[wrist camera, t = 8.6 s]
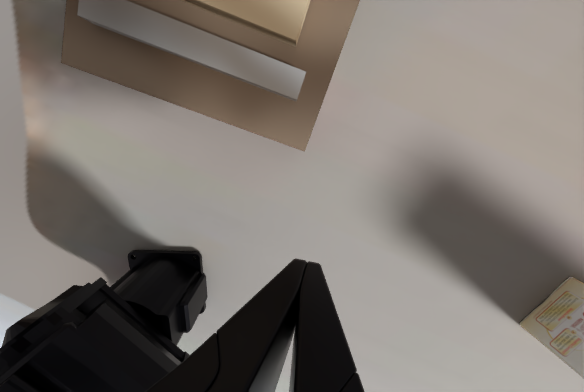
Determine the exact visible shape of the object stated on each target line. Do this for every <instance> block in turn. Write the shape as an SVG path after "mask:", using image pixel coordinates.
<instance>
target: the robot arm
mask: <svg viewBox="0 0 584 392" xmlns="http://www.w3.org/2000/svg"><path fill="white" fill-rule="evenodd" d="M134 255H135V256H136V257H134ZM193 256H196V257H197V259H195V258H194V257H193ZM128 261H129V267H130V271H128V272H127V273H126V274H125V275H124V276H123V277H121V278H120V279H119V280H118V281H117V282H116V283H114V284H113V285H112V286H111V287H109V286H108V285H107V284H106V283H107V282H106V281H105V280H103V279H102V278H99V279H98V280H97V281H95V282H94V283H93V284H90V283H87V284H86V285H84V286H77V285H73V286H72V287H71V288H69V289H68V290H66V291H65V292H64V293H62V294H61V295H60V296H58V297H57V298H55V299H54V300H52V301H51V302H49V303H47V304H46V305H44V306H43V307H41V308H39V309H37V310H36V311H34V312H32V313H31V314H29V315H27V316H26V317H24V318H22V319H21V320H19V321H18V322H16V323H15V324H13V325H12V326H11V327H9V328H8V329H7V330H6V333H5V337H4V341H3V344H2V347H1V348H0V392H275V389H276V386H277V383H278V380H279V377H280V374H281V371H282V368H283V365H284V362H285V359H286V356H287V353H288V350H289V347H290V344H291V341H292V337H293V334H294V342H293V353H292V364H291V376H290V387H289V392H364V389H363V386H362V383H361V380H360V377H359V375H358V373H356V371H357V369H356V366H355V363H354V361H353V358H352V355H351V352H350V349H349V346H348V343H347V340H346V337H345V334H344V332H343V329H342V326H341V323H340V320H339V317H338V314H337V311H336V308H335V305H334V303H333V300H332V297H331V294H330V291H329V288H328V285H327V282H326V279H325V276H324V274H323V271H322V268H321V265H320V264H319V263H315V262H310V261H309V262H306V261H305V260H300V259H294V260H293V261H291V262H290V263H289V264H288V265H287V266H286V267H285V268H284V269H283V270H282V271H281V272H280V273H279V274H277V275H276V276H275V277H274V278H273V279H272V280H271V281H270V282H269V283H268V284H267V285H266V286H265V287H264V288H262V289H261V290H260V291H259V292H258V293H257V294H256V295H255V296H254V297H253V298H252V299H251V300H250V301H248V302H247V303H246V304H245V305H244V306H243V307H242V308H241V309H240V310H239V311H238V312H237V313H236V314H235V315H233V316H232V317H231V318H230V319H229V320H228V321H227V322H226V323H225V324H224V325H223V326H222V327H221V328H219V329H218V330H217V334H216V333H214V334H213V335H212V336H211V337H210V338H209V339H207V340H206V341H205V342H204V343H203V344H202V345H201V346H200V347H199V348H198V349H196V350H195V351H194V352H193V353H192V354H191V355H189V354H188V353H187V352H183V351H182V350H181V349H180V348H179V347H177V344H178V342H179V340H180V338H181V336H182V335H183V333H188V332H189V331H190V330H191V329H192V327H193V325H194V323H195V321H196V319H197V317H198V315H199V314H201V313H203V312H204V310H205V308H206V304H205V301H206V299H207V286H206V276H205V274H204V273H203V267H202V256H201V254H200V253H199V252H196V251H157V250H133V251H132V252H130V253H129V254H128ZM294 330H295V333H294Z"/></svg>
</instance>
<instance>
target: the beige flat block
mask: <svg viewBox="0 0 584 392" xmlns="http://www.w3.org/2000/svg"><path fill="white" fill-rule="evenodd" d="M359 1H360V0H311V1H310V4H309V7H308V10H307V13H306V17H305V20H304V23H303V26H302V29H301V32H300V36H299V39H298V42H297V45H296V47H294V46H292V45H289V44H287V43H285V42H282V41H280V40H277V39H275V38H272V37H270V36H267V35H265V34H262V33H260V32H257V31H255V30H253V29H250V28H248V27H245V26H243V25H240V24H238V23H235V22H233V21H230V20H228V19H225V18H223V17H221V16H218V15H216V14H213V13H211V12H208V11H206V10H203V9H201V8H198V7H196V6H193V5H191V4H189V3H186V2H184V1H181V0H67V1H66V12H65V23H64V35H63V46H62V58H61V63H63V64H66V65H68V66H71V67H74V68H77V69H79V70H82V71H85V72H88V73H90V74H93V75H96V76H99V77H101V78H104V79H107V80H110V81H112V82H115V83H118V84H121V85H123V86H126V87H129V88H132V89H134V90H137V91H140V92H143V93H145V94H148V95H151V96H154V97H156V98H159V99H162V100H164V101H167V102H170V103H173V104H175V105H178V106H181V107H184V108H186V109H189V110H192V111H195V112H197V113H200V114H203V115H206V116H208V117H211V118H214V119H217V120H219V121H222V122H225V123H228V124H230V125H233V126H236V127H239V128H241V129H244V130H247V131H250V132H252V133H255V134H258V135H261V136H263V137H266V138H269V139H272V140H274V141H277V142H280V143H283V144H285V145H288V146H291V147H294V148H296V149H299V150H302V151H305V149H306V146H307V143H308V141H309V138H310V135H311V132H312V130H313V127H314V124H315V121H316V119H317V116H318V113H319V111H320V108H321V105H322V102H323V100H324V97H325V94H326V91H327V89H328V86H329V83H330V80H331V78H332V75H333V72H334V70H335V67H336V64H337V61H338V59H339V56H340V53H341V50H342V48H343V45H344V42H345V39H346V37H347V34H348V31H349V29H350V26H351V23H352V20H353V18H354V15H355V12H356V9H357V7H358V4H359Z"/></svg>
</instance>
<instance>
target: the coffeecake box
mask: <svg viewBox="0 0 584 392" xmlns="http://www.w3.org/2000/svg"><path fill="white" fill-rule="evenodd" d="M520 325H521V326H522V327H523V328H524V329H525V330H526V331H528V332H529V333H530V334H531V335H532V336H534V337H535V338H536V339H537V340H538V341H540V342H541V343H542V344H543V345H544V346H545V347H547V348H548V349H549V350H550V351H551V352H553V353H554V354H555V355H556V356H557V357H559V358H560V359H561V360H562V361H563V362H565V363H566V364H567V365H568V366H569V367H571V368H572V369H573V370H574V371H575V372H576V373H578V374H579V375H580V376H581V377H582V378H584V283H582V282H581V281H579V280H577V279H575V278H573V277H569V278H568V279H567V280H565V281H564V282H563V283H562V284H561V285H560V286H559V287H558V288H557V289H556V290H554V291H553V292H552V294H551V295H550V296H549V297H548V298H547V299H546V300H545V301H544V302H543V303H542V304H541V305H539V306H538V307H537V308H536V309H534V310H533V311H532V312H531V313H530V314H529V315H528V316H527V317H526V318H525V319H524V320H522V321H521V322H520Z"/></svg>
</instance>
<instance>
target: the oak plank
mask: <svg viewBox="0 0 584 392" xmlns="http://www.w3.org/2000/svg"><path fill="white" fill-rule="evenodd" d="M181 1H184V2H186V3H189V4H191V5H193V6H196V7H198V8H201V9H203V10H206V11H208V12H211V13H213V14H216V15H218V16H221V17H223V18H225V19H228V20H230V21H233V22H235V23H238V24H240V25H243V26H245V27H248V28H250V29H253V30H255V31H257V32H260V33H262V34H265V35H267V36H270V37H272V38H275V39H277V40H280V41H282V42H285V43H287V44H289V45H292V46H294V47H296V45H297V42H298V39H299V36H300V32H301V29H302V26H303V23H304V20H305V17H306V13H307V10H308V7H309V4H310V1H311V0H181Z"/></svg>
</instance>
